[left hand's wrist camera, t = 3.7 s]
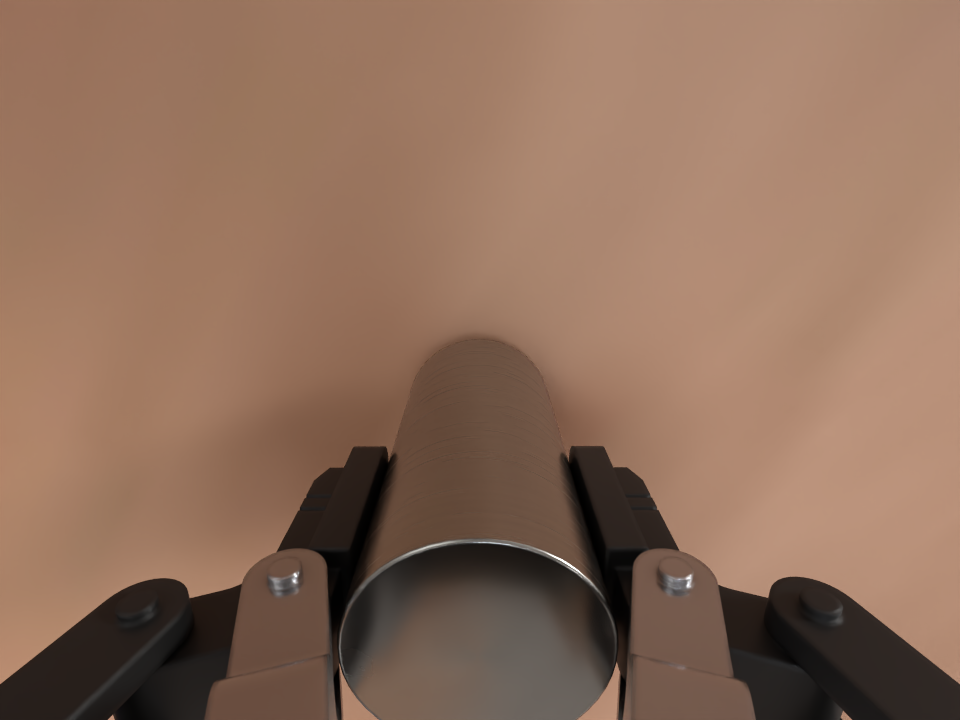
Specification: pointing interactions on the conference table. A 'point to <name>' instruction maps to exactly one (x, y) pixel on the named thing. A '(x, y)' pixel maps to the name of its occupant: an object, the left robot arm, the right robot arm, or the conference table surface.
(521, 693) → the tin
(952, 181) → the conference table surface
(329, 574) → the left robot arm
